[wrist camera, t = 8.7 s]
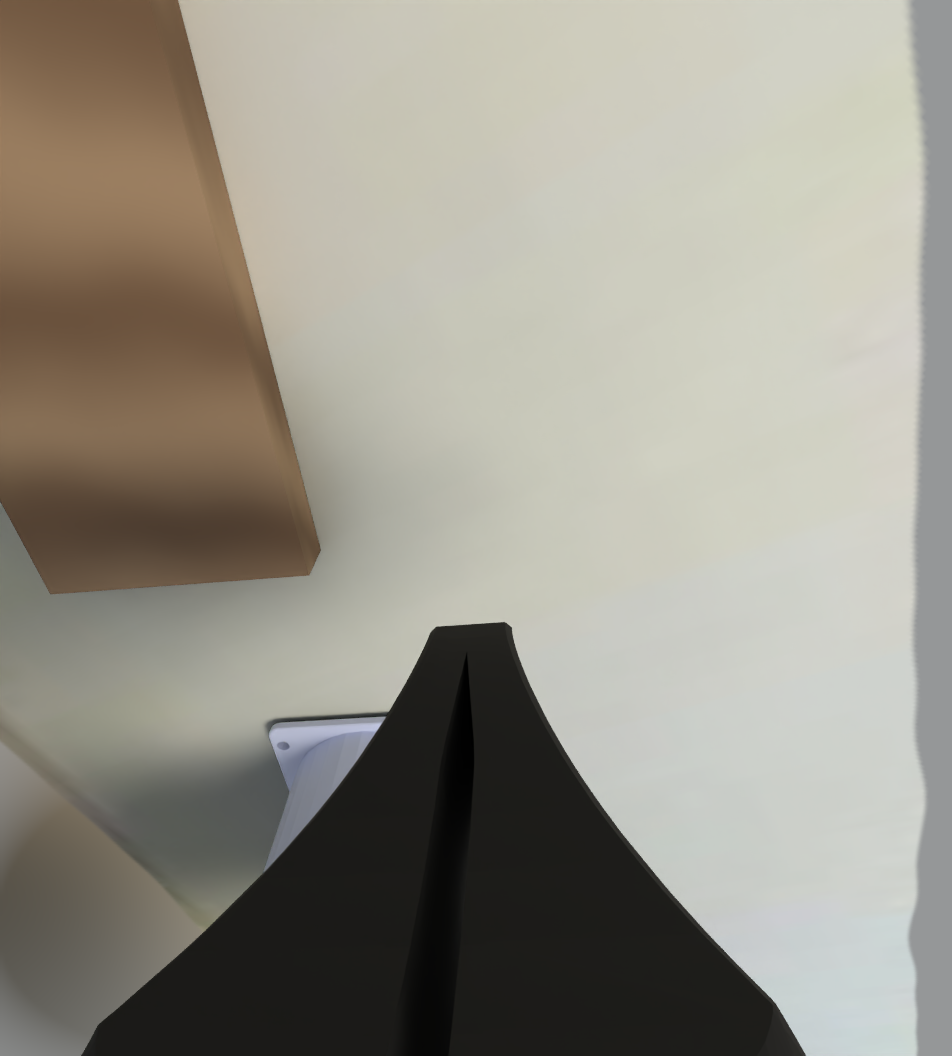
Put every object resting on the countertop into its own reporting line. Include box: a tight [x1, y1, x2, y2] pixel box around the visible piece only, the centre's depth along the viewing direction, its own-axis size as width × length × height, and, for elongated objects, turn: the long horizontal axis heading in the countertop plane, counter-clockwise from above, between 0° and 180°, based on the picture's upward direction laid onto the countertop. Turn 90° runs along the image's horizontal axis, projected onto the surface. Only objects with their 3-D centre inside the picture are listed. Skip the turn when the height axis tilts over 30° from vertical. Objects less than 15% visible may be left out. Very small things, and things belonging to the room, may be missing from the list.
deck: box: [0, 0, 321, 594], centre depth 17 cm, size 16×9×2 cm, turn 6°
